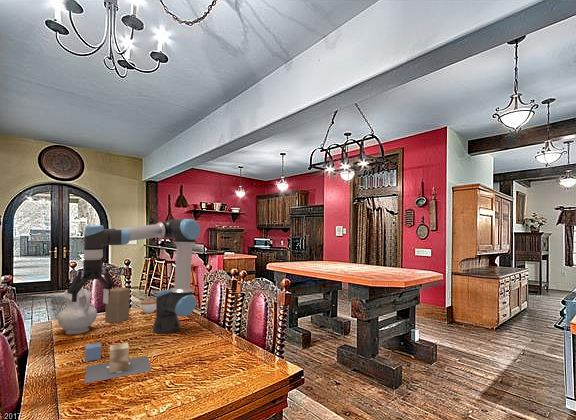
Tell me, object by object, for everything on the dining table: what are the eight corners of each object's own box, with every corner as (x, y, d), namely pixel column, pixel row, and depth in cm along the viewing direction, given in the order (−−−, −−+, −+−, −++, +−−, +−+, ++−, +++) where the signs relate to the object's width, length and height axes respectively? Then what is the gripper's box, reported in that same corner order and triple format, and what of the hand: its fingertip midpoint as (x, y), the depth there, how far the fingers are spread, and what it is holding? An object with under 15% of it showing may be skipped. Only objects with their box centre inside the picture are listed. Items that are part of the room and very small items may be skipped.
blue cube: (100, 355, 155) (101, 342, 155) (100, 360, 150) (100, 346, 150) (85, 358, 152) (86, 344, 152) (84, 362, 147) (85, 349, 147)
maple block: (127, 363, 144) (128, 342, 145) (128, 369, 138) (128, 347, 139) (109, 366, 141) (109, 345, 142) (109, 373, 135) (109, 350, 136)
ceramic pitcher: (106, 330, 195) (110, 287, 199) (75, 338, 177) (80, 291, 180) (79, 327, 202) (83, 285, 206) (47, 334, 184) (52, 288, 187)
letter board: (147, 356, 153) (147, 355, 153) (151, 371, 138) (151, 370, 138) (86, 367, 142) (86, 366, 142) (83, 384, 126) (84, 383, 126)
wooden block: (118, 323, 207) (119, 290, 208) (104, 322, 209) (105, 290, 210) (129, 318, 217) (130, 288, 218) (115, 318, 219) (116, 287, 220)
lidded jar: (143, 310, 239) (143, 297, 239) (158, 310, 240) (159, 297, 240) (138, 314, 228) (138, 300, 229) (154, 314, 229) (154, 300, 230)
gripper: (113, 256, 164) (111, 300, 163) (59, 260, 142) (57, 311, 141) (123, 257, 161) (121, 301, 159) (69, 261, 139) (67, 313, 137)
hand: (91, 306), depth 150 cm, fingers open, 13 cm apart
